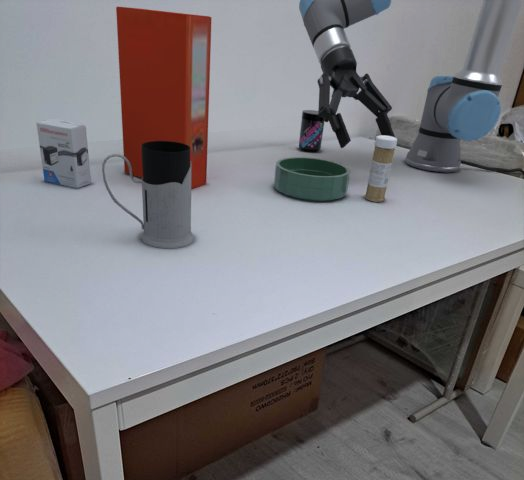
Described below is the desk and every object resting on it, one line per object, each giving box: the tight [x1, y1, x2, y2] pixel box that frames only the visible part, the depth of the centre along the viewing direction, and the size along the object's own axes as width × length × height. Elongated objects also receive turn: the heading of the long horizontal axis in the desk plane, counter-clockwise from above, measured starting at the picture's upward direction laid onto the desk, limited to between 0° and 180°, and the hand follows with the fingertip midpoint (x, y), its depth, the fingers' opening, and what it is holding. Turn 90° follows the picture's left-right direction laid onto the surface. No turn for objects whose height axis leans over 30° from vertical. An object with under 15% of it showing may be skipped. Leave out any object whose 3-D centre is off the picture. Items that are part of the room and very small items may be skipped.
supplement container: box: [298, 109, 325, 153], centre depth 153 cm, size 7×7×10 cm
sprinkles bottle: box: [364, 134, 398, 203], centre depth 115 cm, size 5×5×14 cm
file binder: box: [115, 6, 212, 190], centre depth 110 cm, size 8×17×32 cm, turn 58°
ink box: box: [35, 118, 92, 189], centre depth 107 cm, size 8×5×12 cm, turn 68°
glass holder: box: [101, 141, 194, 249], centre depth 84 cm, size 9×14×15 cm, turn 107°
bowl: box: [273, 156, 352, 202], centre depth 118 cm, size 17×17×6 cm
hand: (368, 143), depth 116 cm, fingers open, 13 cm apart
